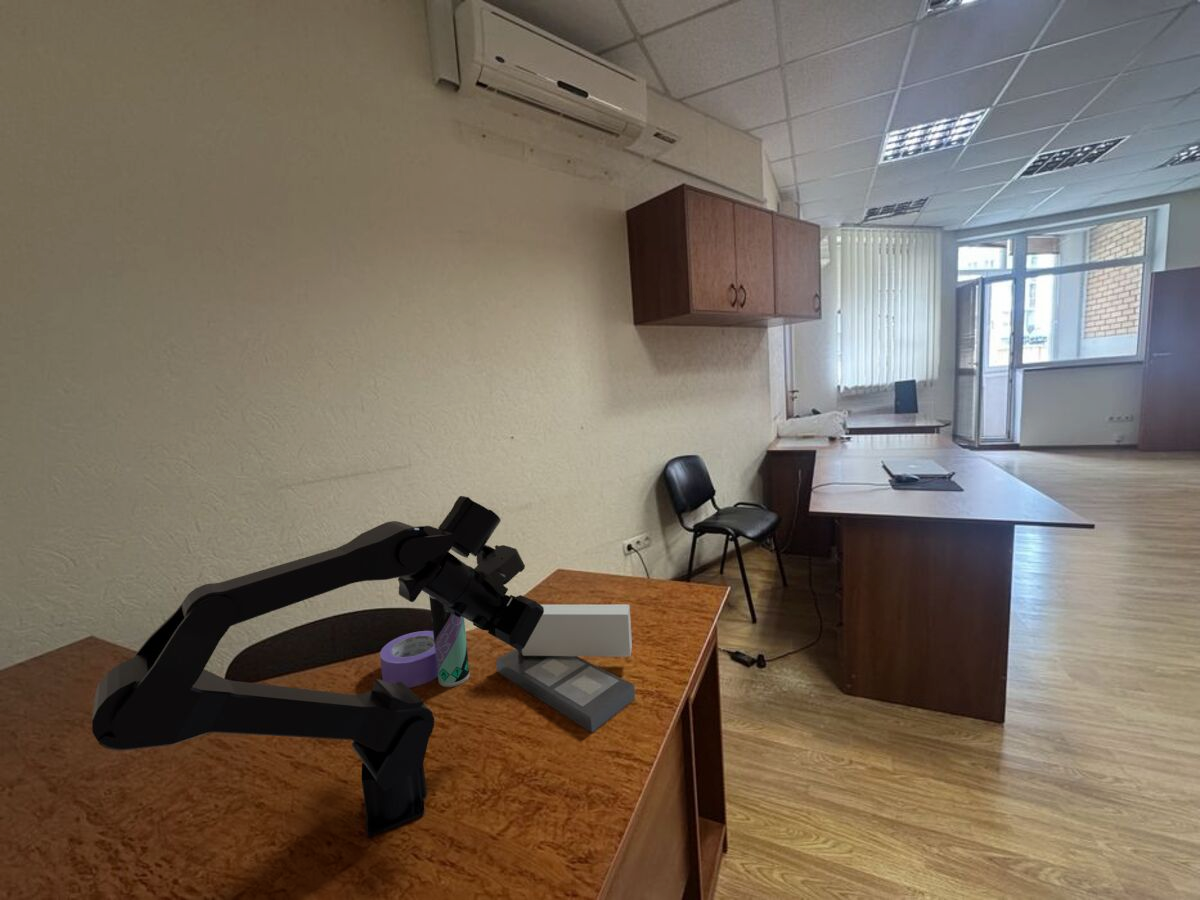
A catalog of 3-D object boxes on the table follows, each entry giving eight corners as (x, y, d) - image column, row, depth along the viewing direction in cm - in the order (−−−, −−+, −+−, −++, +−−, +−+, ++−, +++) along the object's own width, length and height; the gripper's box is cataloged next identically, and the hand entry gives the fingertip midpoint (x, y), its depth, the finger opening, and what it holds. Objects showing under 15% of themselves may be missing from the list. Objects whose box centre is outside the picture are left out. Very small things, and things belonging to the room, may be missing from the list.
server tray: (592, 732, 70) (590, 716, 69) (497, 671, 87) (495, 658, 87) (634, 699, 77) (634, 683, 76) (539, 648, 94) (538, 636, 94)
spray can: (432, 682, 85) (420, 577, 82) (454, 666, 90) (443, 566, 87) (454, 690, 82) (442, 581, 80) (476, 673, 87) (465, 569, 85)
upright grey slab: (514, 655, 87) (511, 614, 86) (521, 643, 91) (517, 604, 90) (630, 657, 84) (627, 614, 83) (631, 645, 88) (629, 604, 87)
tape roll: (458, 653, 95) (455, 630, 94) (431, 689, 83) (428, 662, 83) (403, 653, 96) (400, 630, 95) (369, 689, 84) (366, 662, 84)
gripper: (528, 544, 61) (592, 599, 69) (455, 524, 74) (517, 572, 82) (478, 625, 56) (554, 672, 65) (410, 588, 69) (481, 632, 78)
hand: (525, 631), depth 72 cm, fingers closed
